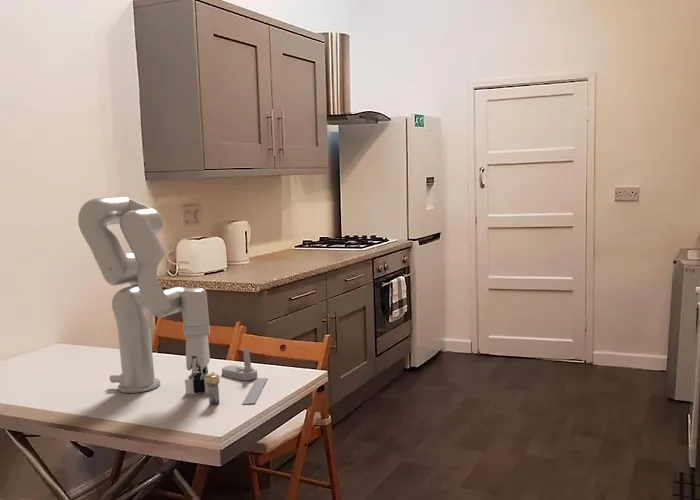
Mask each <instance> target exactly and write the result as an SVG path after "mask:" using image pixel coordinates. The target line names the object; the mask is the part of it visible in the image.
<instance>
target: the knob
mask: <svg viewBox="0 0 700 500" xmlns="http://www.w3.org/2000/svg"><path fill="white" fill-rule="evenodd" d="M219 383H220V375H219V374H218V373H217V374H216V373H214V374H212V375H209V374H208V376H206V384H207V385H208V392H209V393H208V400H209V401H208V403H209V406H217V405H221V404H220V391H219V389H220V388H219Z"/></svg>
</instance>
